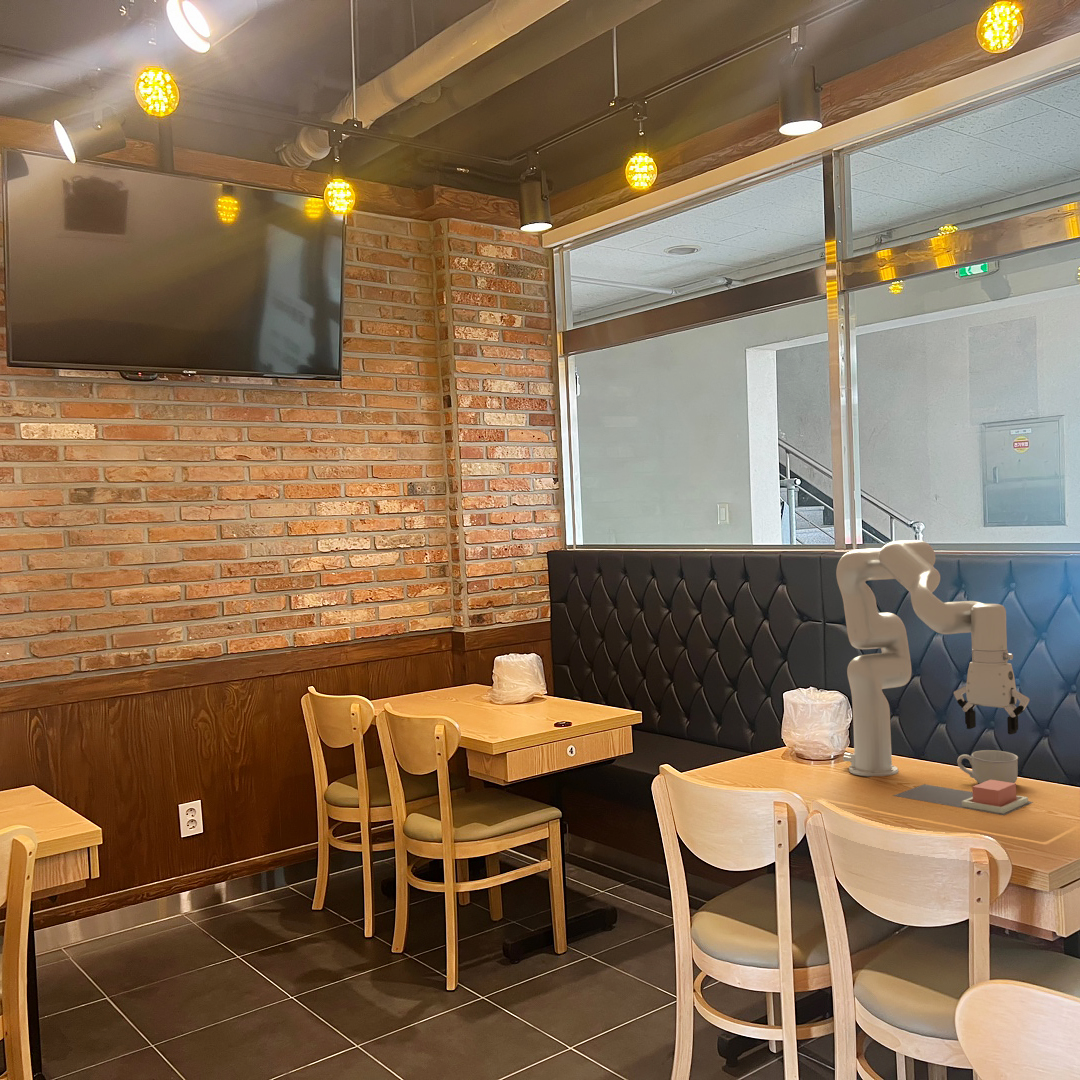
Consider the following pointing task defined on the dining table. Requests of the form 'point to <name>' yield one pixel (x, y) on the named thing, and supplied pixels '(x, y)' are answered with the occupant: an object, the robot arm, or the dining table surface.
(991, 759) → the teacup
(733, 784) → the dining table surface
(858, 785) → the dining table surface
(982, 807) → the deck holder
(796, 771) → the dining table surface
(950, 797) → the play mat
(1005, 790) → the card deck
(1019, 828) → the dining table surface
